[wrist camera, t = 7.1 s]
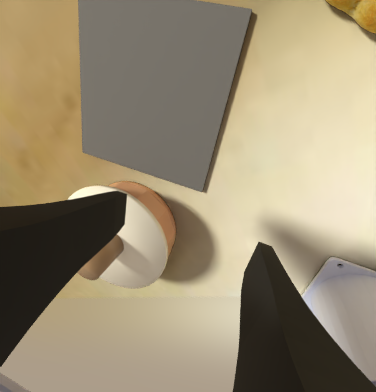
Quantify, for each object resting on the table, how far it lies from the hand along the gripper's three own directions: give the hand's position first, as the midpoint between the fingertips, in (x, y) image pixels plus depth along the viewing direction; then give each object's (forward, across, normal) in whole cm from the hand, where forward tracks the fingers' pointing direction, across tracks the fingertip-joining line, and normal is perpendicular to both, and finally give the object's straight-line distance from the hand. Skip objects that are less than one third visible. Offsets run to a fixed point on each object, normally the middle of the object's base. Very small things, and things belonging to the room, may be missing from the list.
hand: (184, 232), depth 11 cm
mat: (+10, +8, -5) cm, 14 cm away
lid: (+6, +8, +9) cm, 13 cm away
